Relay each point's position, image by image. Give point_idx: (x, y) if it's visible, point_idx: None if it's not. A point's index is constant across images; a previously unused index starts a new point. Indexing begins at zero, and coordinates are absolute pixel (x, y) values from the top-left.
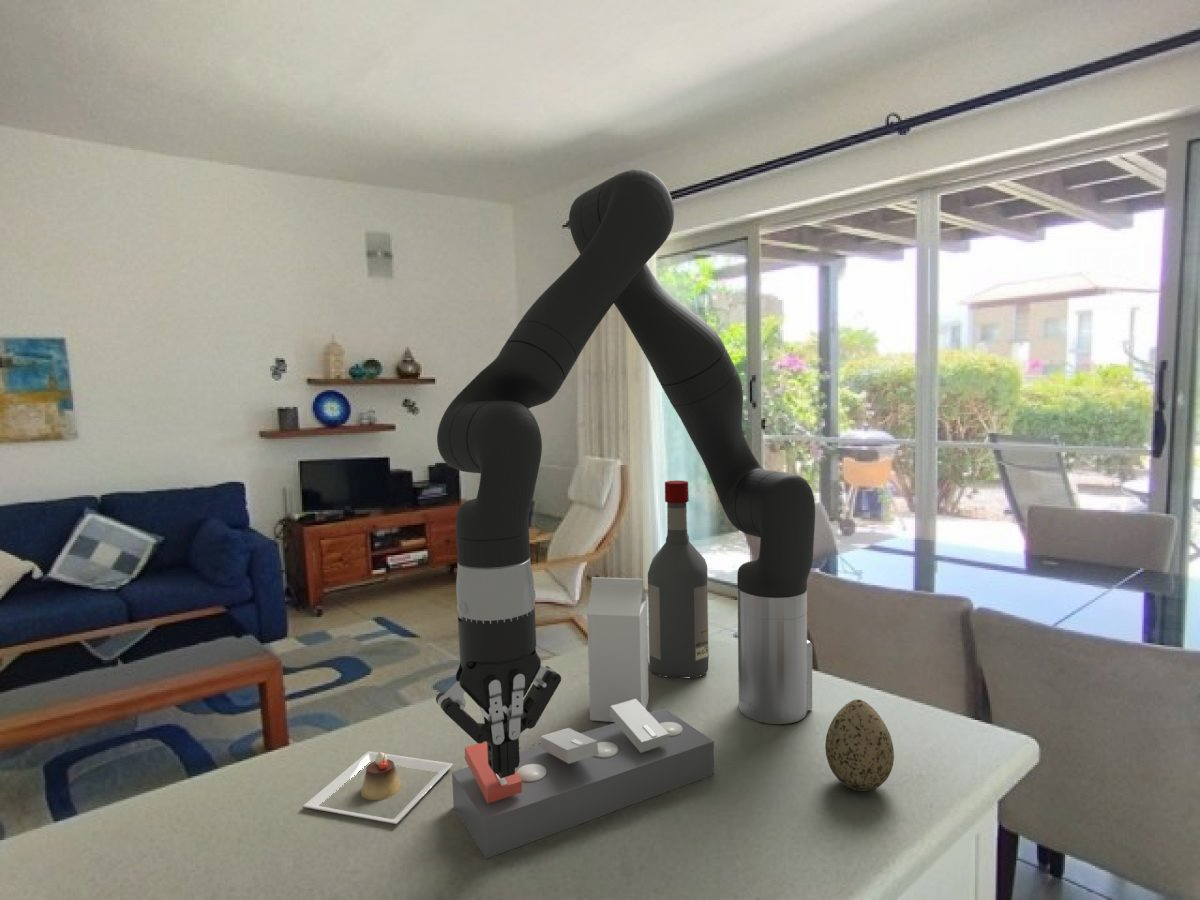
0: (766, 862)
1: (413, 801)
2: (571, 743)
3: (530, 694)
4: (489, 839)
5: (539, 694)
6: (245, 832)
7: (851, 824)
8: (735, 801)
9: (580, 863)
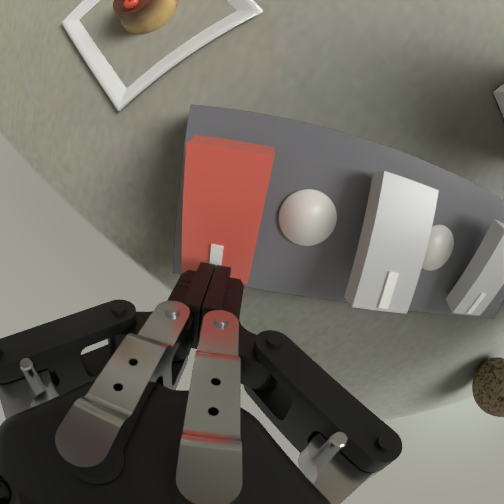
0: (379, 392)
1: (158, 69)
2: (382, 281)
3: (297, 407)
4: None
5: (296, 441)
6: (23, 45)
7: (442, 388)
8: (442, 336)
9: (273, 320)
